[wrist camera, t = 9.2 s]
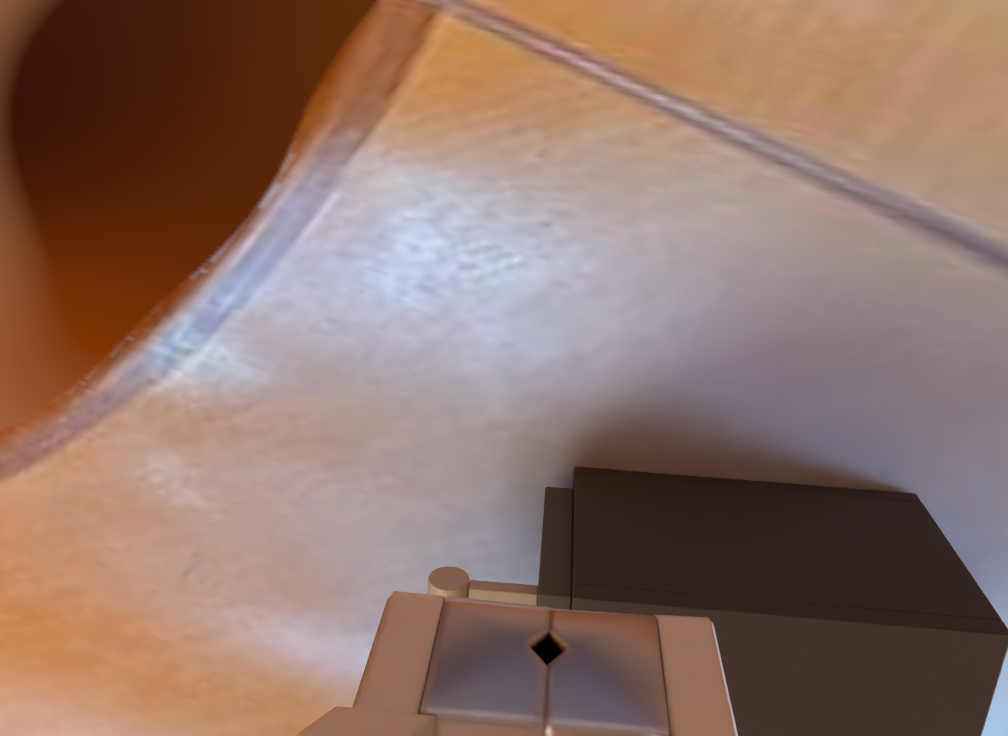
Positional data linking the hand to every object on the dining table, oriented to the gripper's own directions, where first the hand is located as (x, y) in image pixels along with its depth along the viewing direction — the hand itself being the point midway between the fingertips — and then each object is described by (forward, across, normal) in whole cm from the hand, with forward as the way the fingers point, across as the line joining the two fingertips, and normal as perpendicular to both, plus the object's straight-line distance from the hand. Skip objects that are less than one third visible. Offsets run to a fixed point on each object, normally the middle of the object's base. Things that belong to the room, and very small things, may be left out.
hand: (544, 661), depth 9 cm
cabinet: (+29, -8, +19) cm, 36 cm away
